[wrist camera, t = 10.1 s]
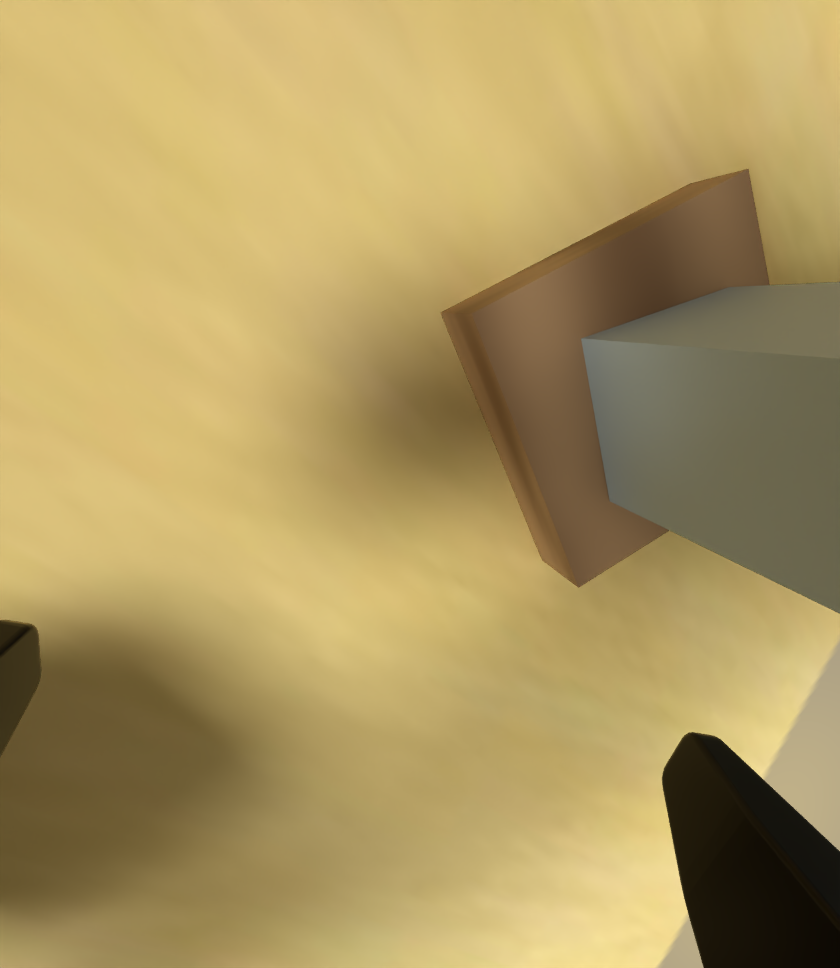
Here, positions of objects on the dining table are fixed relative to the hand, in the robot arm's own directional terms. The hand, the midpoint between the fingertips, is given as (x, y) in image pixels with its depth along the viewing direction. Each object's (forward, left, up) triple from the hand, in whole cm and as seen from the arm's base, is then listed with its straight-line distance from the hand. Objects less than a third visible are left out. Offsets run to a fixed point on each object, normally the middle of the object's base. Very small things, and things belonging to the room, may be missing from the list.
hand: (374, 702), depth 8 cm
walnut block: (+11, -4, -12) cm, 17 cm away
